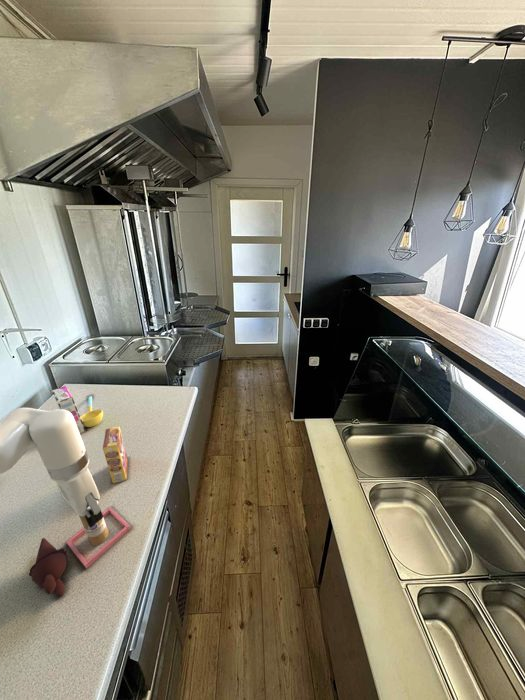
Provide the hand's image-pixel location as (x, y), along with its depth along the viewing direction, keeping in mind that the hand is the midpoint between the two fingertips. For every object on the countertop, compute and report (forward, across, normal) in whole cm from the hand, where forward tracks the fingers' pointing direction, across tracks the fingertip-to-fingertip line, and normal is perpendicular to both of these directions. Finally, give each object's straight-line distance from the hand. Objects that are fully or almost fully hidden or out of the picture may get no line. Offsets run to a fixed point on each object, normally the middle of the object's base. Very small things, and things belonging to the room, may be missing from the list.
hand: (90, 515), depth 70 cm
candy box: (+9, -15, +15) cm, 23 cm away
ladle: (+9, -54, +26) cm, 61 cm away
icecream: (+9, -1, -10) cm, 14 cm away
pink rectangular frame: (+9, 0, 0) cm, 9 cm away
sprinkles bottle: (+9, 0, 0) cm, 9 cm away
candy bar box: (+9, -50, +17) cm, 53 cm away
